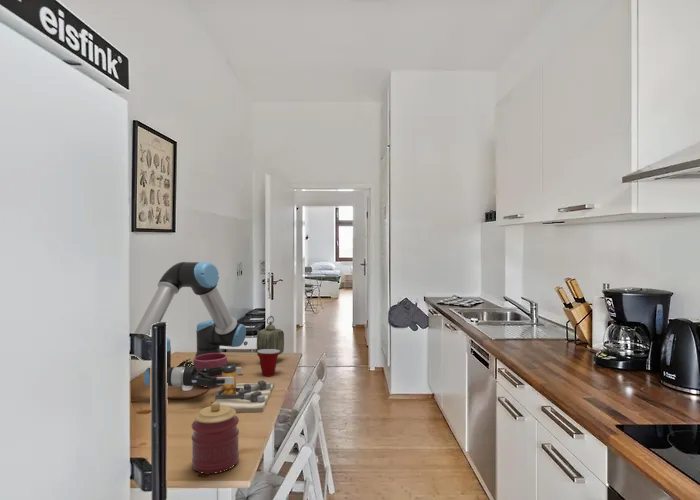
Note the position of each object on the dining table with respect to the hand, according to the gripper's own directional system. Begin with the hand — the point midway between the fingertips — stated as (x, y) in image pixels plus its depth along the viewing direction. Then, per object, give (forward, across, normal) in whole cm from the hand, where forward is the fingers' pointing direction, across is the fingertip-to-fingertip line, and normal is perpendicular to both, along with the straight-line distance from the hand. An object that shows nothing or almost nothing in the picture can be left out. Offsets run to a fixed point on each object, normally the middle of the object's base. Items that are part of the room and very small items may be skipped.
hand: (237, 375), depth 175 cm
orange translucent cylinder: (-3, 0, -8) cm, 9 cm away
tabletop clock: (+6, -55, -10) cm, 56 cm away
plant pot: (-16, -19, -10) cm, 27 cm away
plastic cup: (+8, -33, -10) cm, 35 cm away
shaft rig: (+3, 0, -10) cm, 10 cm away
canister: (+6, +53, -10) cm, 54 cm away
